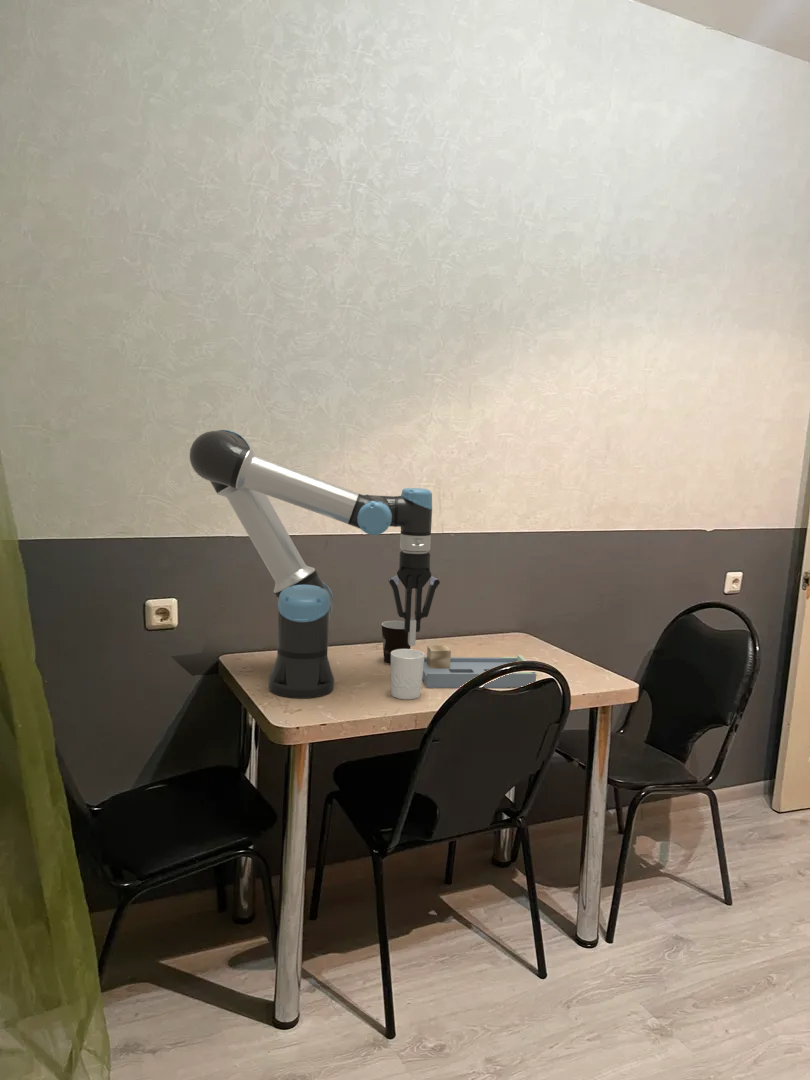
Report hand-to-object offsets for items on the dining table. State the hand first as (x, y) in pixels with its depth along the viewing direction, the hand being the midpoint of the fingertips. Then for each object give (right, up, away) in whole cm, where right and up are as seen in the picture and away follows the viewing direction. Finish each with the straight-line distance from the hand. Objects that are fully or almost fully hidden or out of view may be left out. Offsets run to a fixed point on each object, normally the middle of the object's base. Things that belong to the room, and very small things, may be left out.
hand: (411, 644), depth 202 cm
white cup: (-2, -10, -14) cm, 17 cm away
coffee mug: (-4, -6, +14) cm, 16 cm away
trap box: (+16, -9, +1) cm, 18 cm away
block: (+7, -6, +2) cm, 9 cm away
